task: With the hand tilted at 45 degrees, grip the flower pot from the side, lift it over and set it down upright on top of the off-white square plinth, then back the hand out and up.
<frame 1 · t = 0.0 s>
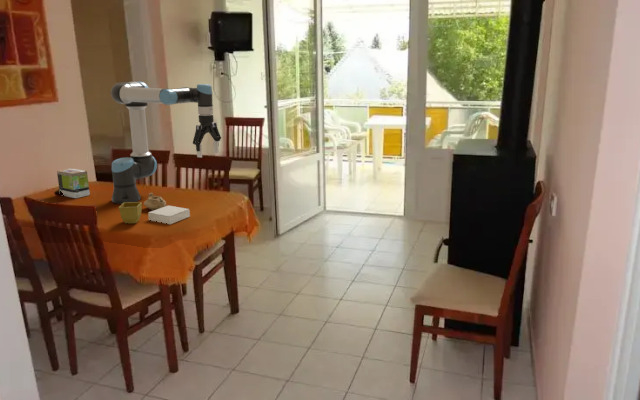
hand: (208, 155, 267), 28 cm above the table, tool pointing down, fingers open, 13 cm apart
oil lamp: (157, 209, 268), on the table
plinth: (169, 218, 253), on the table
flower pot: (132, 222, 247), on the table
tea box: (75, 195, 295), on the table
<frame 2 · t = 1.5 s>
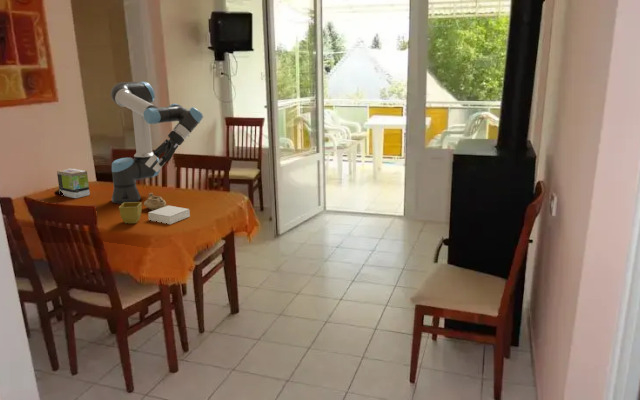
hand: (150, 168, 246), 26 cm above the table, tool tilted 45°, fingers open, 13 cm apart
nothing on the table moved.
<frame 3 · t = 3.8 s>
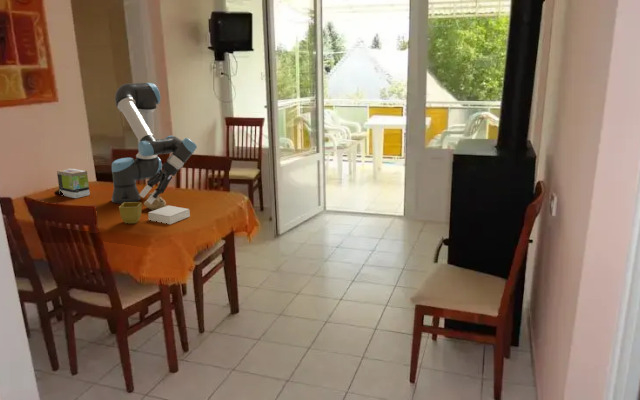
hand: (144, 199, 247), 11 cm above the table, tool tilted 45°, fingers open, 13 cm apart
nothing on the table moved.
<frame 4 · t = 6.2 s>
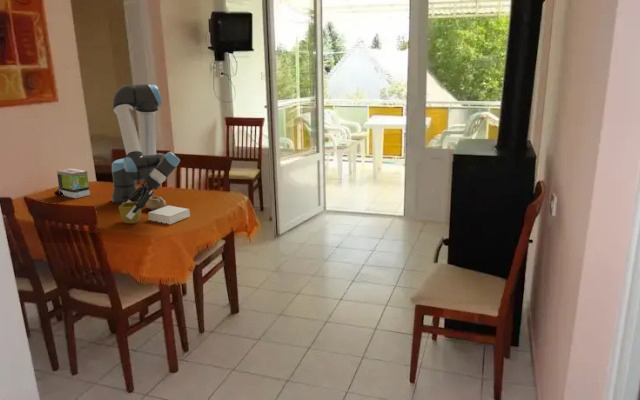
hand: (125, 214, 244), 4 cm above the table, tool tilted 45°, fingers closed on flower pot, 11 cm apart
flower pot: (132, 222, 247), on the table, touching gripper
everything else where it was.
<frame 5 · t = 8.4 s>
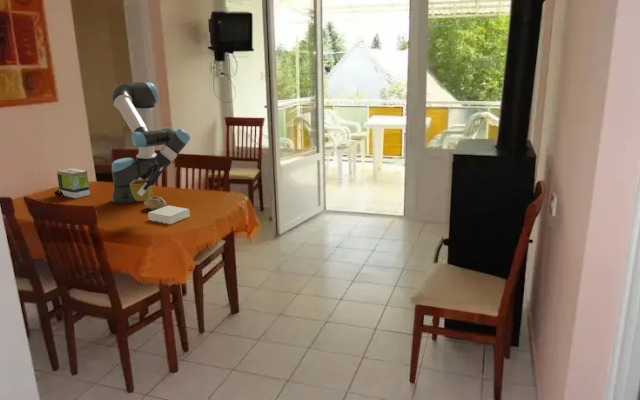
hand: (136, 192, 243), 15 cm above the table, tool tilted 45°, fingers closed on flower pot, 11 cm apart
flower pot: (143, 200, 245), point 11 cm above the table, touching gripper
everything else where it was.
when the fingers open (10 cm above the table, at t = 11.0 s): flower pot drops 1 cm, resting on plinth.
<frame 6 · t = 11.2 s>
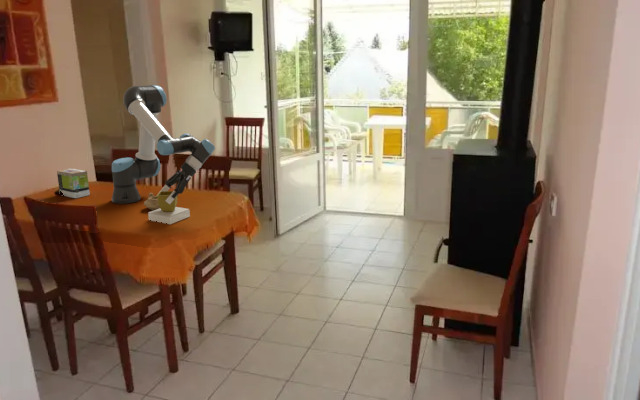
hand: (163, 199, 249), 10 cm above the table, tool tilted 45°, fingers open, 13 cm apart
flower pot: (168, 210, 252), point 4 cm above the table, touching plinth
everything else where it was.
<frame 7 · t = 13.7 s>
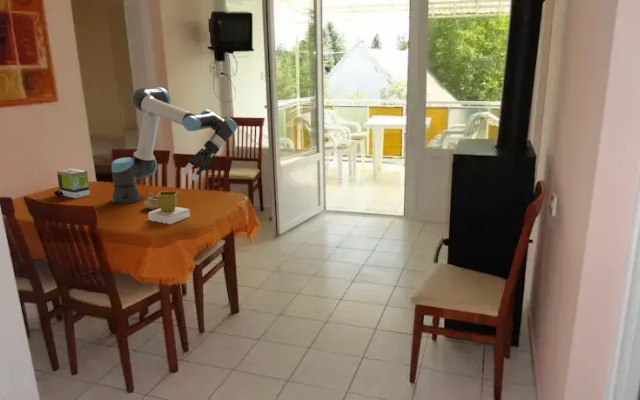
hand: (187, 176, 253), 20 cm above the table, tool tilted 45°, fingers open, 13 cm apart
nothing on the table moved.
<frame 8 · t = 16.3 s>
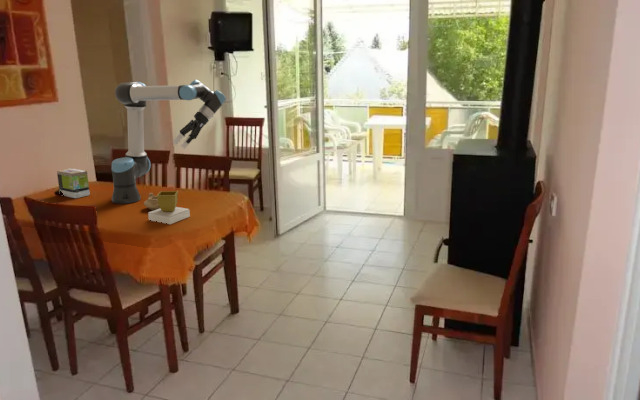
hand: (178, 145, 268), 33 cm above the table, tool tilted 45°, fingers open, 13 cm apart
nothing on the table moved.
at the end: flower pot inside the target area on the plinth (0.4 cm from its centre), point 3.8 cm above the plinth's base; flower pot tilted 0°; the gripper is holding nothing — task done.
